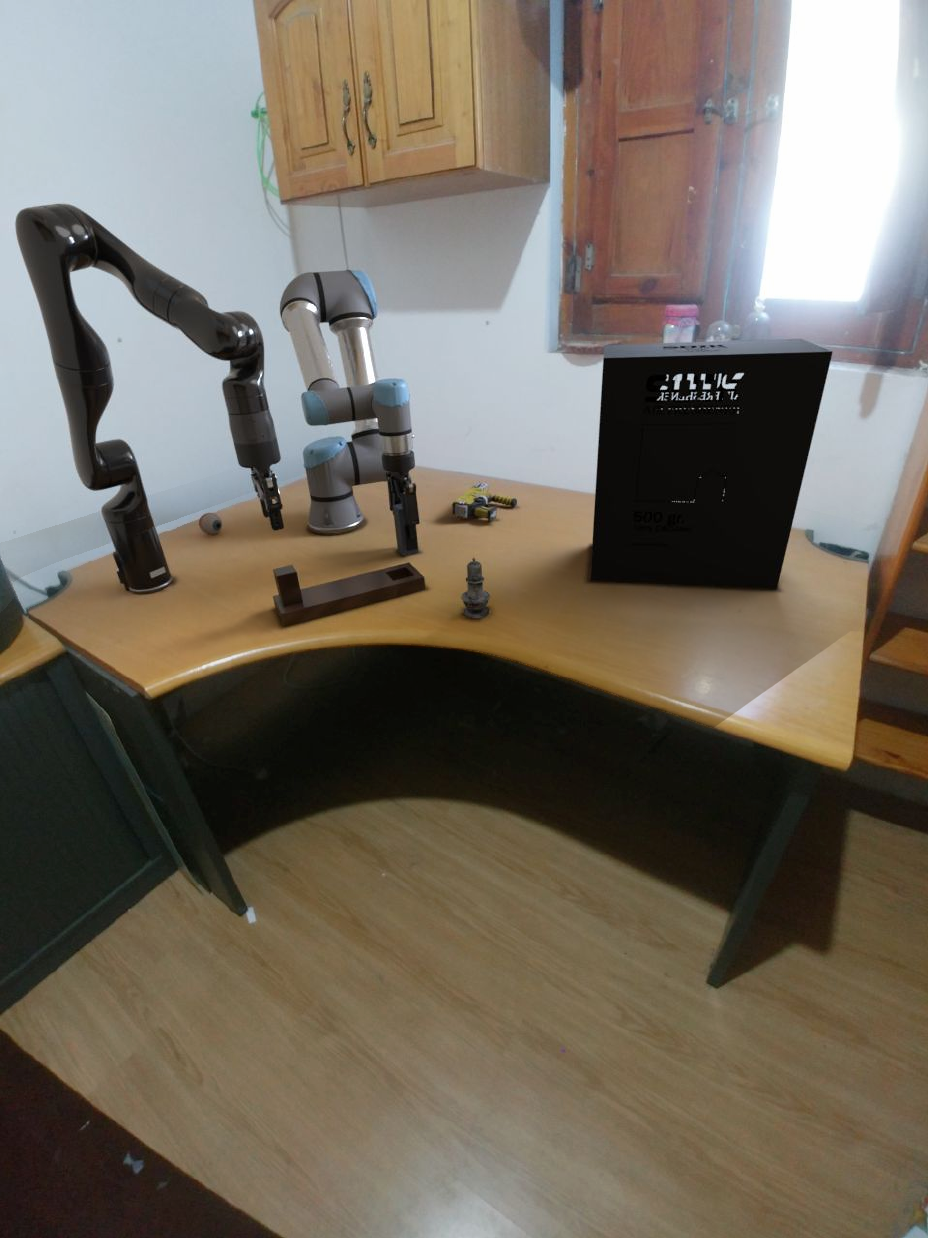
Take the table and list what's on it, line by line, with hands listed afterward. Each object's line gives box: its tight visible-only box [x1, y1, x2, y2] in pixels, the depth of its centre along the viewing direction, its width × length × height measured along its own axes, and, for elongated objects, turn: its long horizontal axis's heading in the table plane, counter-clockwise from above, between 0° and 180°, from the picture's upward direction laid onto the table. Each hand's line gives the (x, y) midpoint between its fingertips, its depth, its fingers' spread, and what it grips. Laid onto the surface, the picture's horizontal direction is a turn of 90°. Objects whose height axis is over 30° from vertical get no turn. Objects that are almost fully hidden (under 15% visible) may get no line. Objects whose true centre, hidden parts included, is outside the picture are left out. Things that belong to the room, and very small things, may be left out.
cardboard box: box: [589, 338, 834, 590], centre depth 125 cm, size 38×20×45 cm, turn 78°
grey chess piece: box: [460, 557, 491, 619], centre depth 119 cm, size 6×6×12 cm
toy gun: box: [451, 480, 518, 523], centre depth 174 cm, size 5×24×15 cm
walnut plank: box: [272, 562, 426, 627], centre depth 128 cm, size 31×9×10 cm, turn 116°
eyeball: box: [198, 512, 223, 536], centre depth 167 cm, size 6×6×6 cm
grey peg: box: [392, 504, 419, 557], centre depth 148 cm, size 4×4×12 cm
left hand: (273, 522), depth 116 cm, fingers open, 8 cm apart
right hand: (407, 544), depth 150 cm, fingers open, 6 cm apart
